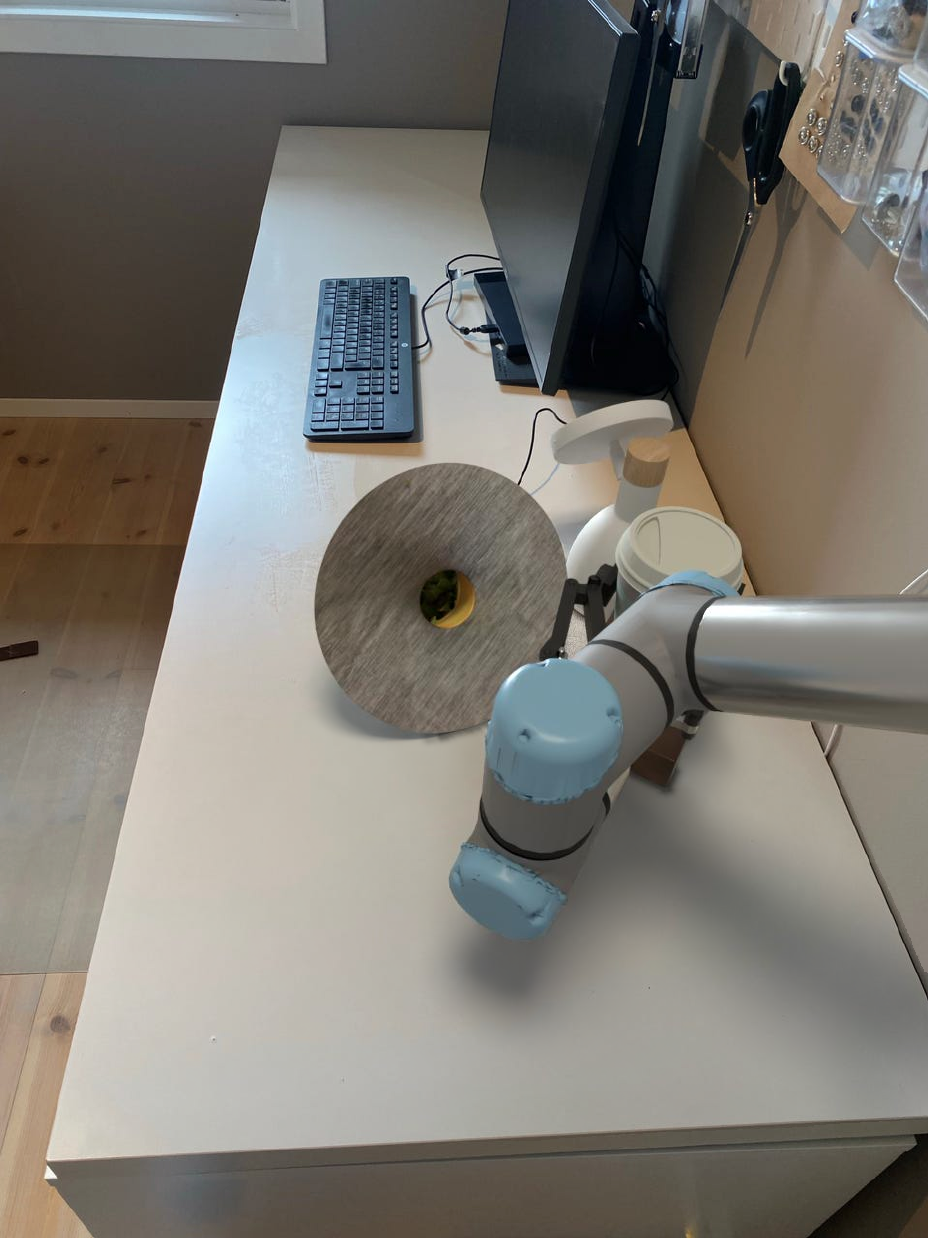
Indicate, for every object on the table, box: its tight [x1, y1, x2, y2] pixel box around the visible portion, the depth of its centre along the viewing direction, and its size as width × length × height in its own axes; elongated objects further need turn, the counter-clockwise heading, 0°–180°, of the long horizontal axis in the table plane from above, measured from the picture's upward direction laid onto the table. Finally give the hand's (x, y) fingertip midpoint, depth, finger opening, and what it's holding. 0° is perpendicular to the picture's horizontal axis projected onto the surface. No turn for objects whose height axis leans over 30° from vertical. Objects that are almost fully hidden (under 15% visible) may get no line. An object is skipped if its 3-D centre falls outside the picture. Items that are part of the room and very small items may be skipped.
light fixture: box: [549, 399, 674, 621], centre depth 95 cm, size 13×21×20 cm
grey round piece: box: [313, 462, 568, 734], centre depth 89 cm, size 25×18×25 cm
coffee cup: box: [614, 505, 745, 620], centre depth 80 cm, size 11×11×15 cm
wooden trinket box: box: [606, 608, 688, 788], centre depth 88 cm, size 12×16×4 cm
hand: (683, 572), depth 82 cm, fingers closed on coffee cup, 9 cm apart
